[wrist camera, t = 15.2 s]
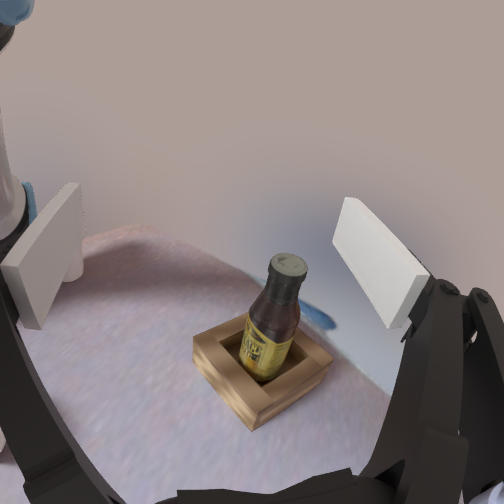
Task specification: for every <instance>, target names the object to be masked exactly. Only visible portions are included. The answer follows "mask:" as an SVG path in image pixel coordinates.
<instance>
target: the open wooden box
mask: <svg viewBox="0 0 504 504" xmlns="http://www.w3.org/2000/svg"><path fill="white" fill-rule="evenodd" d="M247 317H248V312H247V313H245V314H243V315H241V316H239V317H236V318H234V319H232V320H230V321H227V322H225V323H223V324H221V325H218V326H216V327H214V328H212V329H209V330H207V331H205V332H202V333H200V334H198V335H195V336H193V363H194V364H195V366H196V367H197V368H198V369H199V371H200V372H201V373H202V374H203V376H204V377H205V378H206V379H207V381H208V382H209V383H210V384H211V386H212V387H213V388H214V389H215V390H216V392H217V393H218V394H219V395H220V396H221V398H222V399H223V400H224V401H225V402H226V404H227V405H228V406H229V407H230V408H231V409H232V410H233V412H234V413H235V414H236V415H237V416H238V417H239V418H240V420H241V421H242V422H243V423H244V424H245V425H246V426H247V427H248V428H249V430H250V431H251V432H252V431H253V430H255V429H256V428H258V427H259V426H261V425H262V424H264V423H265V422H267V421H268V420H270V419H271V418H273V417H274V416H276V415H277V414H279V413H280V412H281V411H283V410H284V409H286V408H287V407H289V406H290V405H291V404H293V403H294V402H296V401H297V400H298V399H300V398H301V397H302V396H304V395H305V394H306V393H308V392H309V391H310V390H312V389H313V388H314V387H316V386H317V385H318V384H319V383H321V382H322V380H323V378H324V377H325V375H326V373H327V371H328V369H329V367H330V366H331V364H332V362H333V360H334V358H333V357H332V356H331V355H329V354H328V353H327V352H326V351H325V350H324V349H322V348H321V347H320V346H319V345H318V344H317V343H315V342H314V341H313V340H312V339H311V338H310V337H308V336H307V335H306V334H305V333H304V332H303V331H301V330H300V329H299V328H298V327H296V332H295V335H294V337H293V340H292V342H291V345H290V347H289V350H288V352H287V355H286V357H285V359H284V362H283V364H282V367H281V369H280V371H279V373H278V375H277V376H276V378H275V379H273V380H272V381H271V382H269V383H267V384H262V385H260V384H257V383H256V382H255V381H254V380H253V379H252V378H251V377H250V376H249V375H248V374H247V373H246V371H245V370H244V369H243V368H242V367H241V366H240V365H239V364H238V358H239V353H240V349H241V344H242V339H243V334H244V329H245V326H246V321H247Z"/></svg>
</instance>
